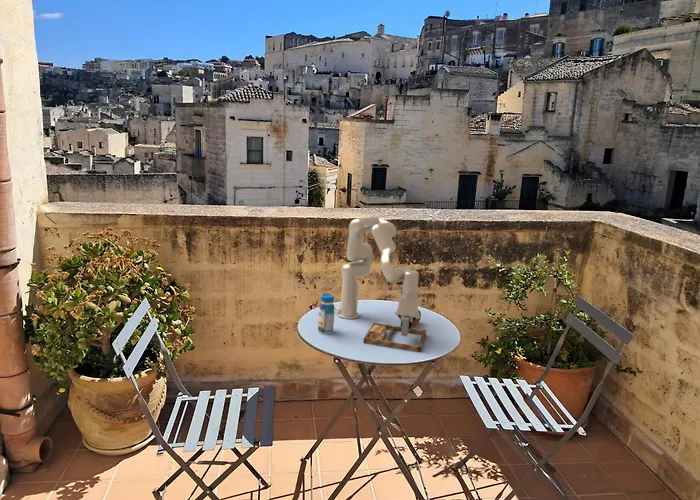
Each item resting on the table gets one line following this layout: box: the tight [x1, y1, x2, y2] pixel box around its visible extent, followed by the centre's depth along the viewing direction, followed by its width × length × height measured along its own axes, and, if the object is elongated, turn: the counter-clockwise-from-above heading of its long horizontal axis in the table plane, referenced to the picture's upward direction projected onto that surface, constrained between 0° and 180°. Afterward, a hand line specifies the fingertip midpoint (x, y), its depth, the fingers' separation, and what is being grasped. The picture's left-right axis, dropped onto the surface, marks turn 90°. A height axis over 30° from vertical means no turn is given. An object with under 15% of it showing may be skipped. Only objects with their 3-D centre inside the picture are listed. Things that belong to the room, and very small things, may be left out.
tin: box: [412, 309, 422, 327], centre depth 304 cm, size 15×3×8 cm, turn 143°
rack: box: [362, 322, 427, 353], centre depth 283 cm, size 29×24×3 cm
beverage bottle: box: [317, 293, 335, 335], centre depth 285 cm, size 8×8×20 cm
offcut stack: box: [369, 325, 388, 341], centre depth 285 cm, size 7×13×5 cm, turn 166°
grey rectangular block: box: [400, 316, 410, 337], centre depth 280 cm, size 3×12×9 cm, turn 166°
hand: (406, 327), depth 281 cm, fingers closed on grey rectangular block, 3 cm apart
